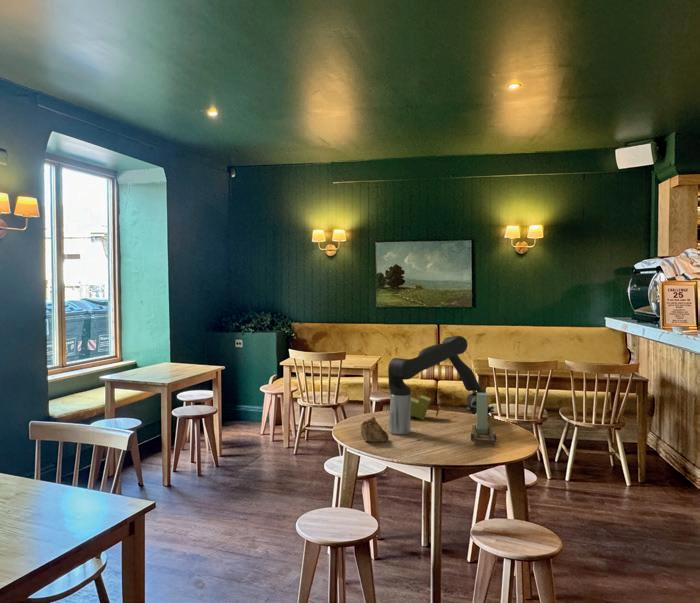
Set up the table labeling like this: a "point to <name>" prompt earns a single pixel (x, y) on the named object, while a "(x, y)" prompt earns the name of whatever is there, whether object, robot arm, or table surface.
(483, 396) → the block
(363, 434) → the decorative rock
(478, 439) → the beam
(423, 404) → the toy
